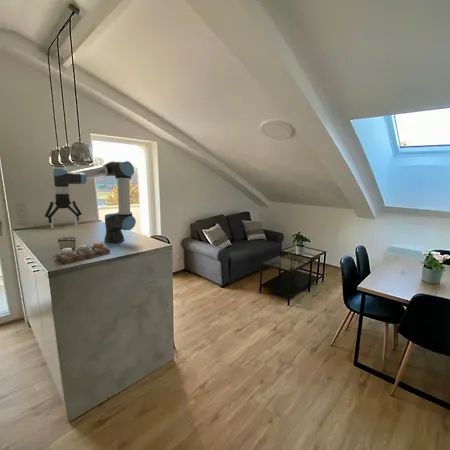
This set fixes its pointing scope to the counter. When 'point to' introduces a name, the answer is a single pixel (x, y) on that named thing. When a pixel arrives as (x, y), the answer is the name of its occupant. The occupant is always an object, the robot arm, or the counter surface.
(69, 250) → the cream button
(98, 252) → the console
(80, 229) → the counter surface
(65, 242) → the food container
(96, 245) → the terracotta button
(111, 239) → the robot arm
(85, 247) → the sage button
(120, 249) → the counter surface
